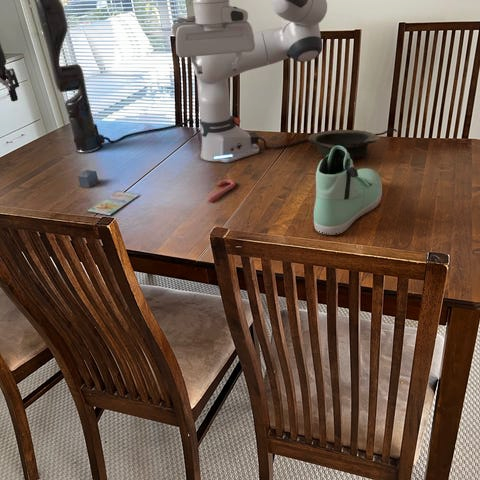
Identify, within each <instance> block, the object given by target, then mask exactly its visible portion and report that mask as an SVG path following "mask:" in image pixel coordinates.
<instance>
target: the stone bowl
mask: <svg viewBox="0 0 480 480" xmlns="http://www.w3.org/2000/svg"><path fill="white" fill-rule="evenodd" d="M375 134H376V133H372V132H369V131H367V130H359V129H335V130H331V129H330V130H324V131H319V132H314V133H312V134H310V135H308V138H307V139H308V141H307V142H310V143H313V144H314V145H315V144H316V150H317V152H318V153H319V155H320V156H321V157H323V158H325V157H326V156H327V155H329V154H330V152H331V149H332V148H333V147H334V146H342V147H344V148H345V149H346V150H347V152H348V153H349V156H350V159H352V161H353V162H354V160H355V159H365V158H366V156H367V153H368V147H369V144H370V145H371V144H373V143H375V142H377V141H378V140H380V136H379V135H375Z"/></svg>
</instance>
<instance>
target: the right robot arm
mask: <svg viewBox="0 0 480 480" xmlns="http://www.w3.org/2000/svg"><path fill="white" fill-rule="evenodd" d="M192 2H193V12H194V15H193V16H192V15H191V16H186V17H182V16H181V17H177V18H176V19H174V20H173V21H172V23H171V31H172V35H173V37H174V38H175V52H176V53H175V54H176V55H177V56H178V57H179V58H181V59H182V58H190V62H191V63H192V64H193V72H194V75H195V76H196V80H197V81H196V83H197V84H196V85H197V98H198V99H197V100H198V108H199V117H200V119H199V131H200V135H201V148H200V149H201V151H200V158H201V159H202V160H204V161H208V162H221V163H231V162H235V161H237V160H240V159H243V158H246V157H249V156H252V155H255V154H258V153H260V147H259V145H257V144H259V142H260V140H261V141H262V142H263V146H264V148H265V149H267V150H272V149H273V150H274V149H275V150H276V149H283V148H285V147H291V146H295V145H297V144H300V143H303V142H309V141H308V138H305V139H301V140H298V141H294V142H292V143H288V144H283V145H280V146H276V147H268V146H267V142H266V139H264V138H263V137H261V136H258V134H257V133H256V131H255V132H247V131H246V130H244V129H243V128H241V127H240V126H238V125H240V124H241V119H240V118H238V117H235V116H233V115H231V103H230V91H229V79H230V78H233V77H235V76H238V75H240V74H243V73H245V72H248V71H251V70H256V69H259V68H263V67H266V66H271V65H273V64H276V63H277V64H278V62H279V63H280V62H282V61H284V60H286V59H291V60H293V61H296V62H299V63H305V62H310V61H312V60H314V59H316V58H318V57H319V56H320V54H321V53H322V52H323V39H322V37H321V28H320V23H321V22H322V21H323V20H324V18H325V17H326V14H327V11H328V2H327V0H271V5H272V9H273V12H274V13H275V14H276V15H277V16H278V17H279V18H281V23H282V24H281V26H282V27H275V28H269V29H264V30H261V31H256V32H254V30H253V27H252V25H251V23H250V22H249V21H248V19H249V13H248V11H247V10H246V9H243V8H240V7H238V6H232V5H231V4H230V0H193V1H192ZM391 131H394V132H397V133H398V130H397V129H396V128H389V129H387V130H385V131H383V132H380V133H374V134H375V135H377V136H382V135H385V134H387V133H389V132H391Z"/></svg>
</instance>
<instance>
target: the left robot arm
mask: <svg viewBox="0 0 480 480" xmlns="http://www.w3.org/2000/svg"><path fill="white" fill-rule="evenodd" d="M33 1H34V5H35V7H36V13H37V17H38V20H39V24H40V27H41V31H42V34H43V37H44V41H45V44H46V48H47V52H48V58H49V62H50V67H51V71H52V76H53V80H54V84H55V87H56V89H57V91H58V92H59V93H66V92H67V93H68V92H73V91H77V92H76V93H75V95H73V96H72V97H70V98H68V99H67V100H65V102H64V106H65V110H66V114H67V115H66V116H67V118H68V122H69V126H70V130H71V133H72V137H73V143H74V145H75V148H76V149H75V150H76V152H77V153H80V154H87V153H92V152H96V151H97V150H99V149H100V148H102V144H105V143H106V142H105V140H106V141H108V143H110V144H115V143H118V142H120V141H122V140H124V139H126V138H129V137H132V136H136V135H137V136H138V135H141V134H146V133H151V132H159V131H165V130H169V129H175V128H178V127H182V126H184V125H186V124H187V123H188V122H191V123H194V122H195V121H194V120H193V119H192V118H188V119H186V120H184V121H183V122H181V123H177V124H174V125H167V126H165V127H158V128H151V129H145V130H140V131H136V132H131V133H127V134H125V135H122V136H120V137H119V138H118V139H116V140H111V138H109V137H108V136H104V134H100V133H99V129H98V125H97V123H95V121H94V116H93V113H92V108H91V104H90V99H89V96H88V95H89V94H88V92H87V86H86V80H85V75H84V71H83V68H82V67H81V65H80V64H78V63H75V64H68V65H67V64H66V65H61V64H60V60H61V52H62V47H63V45H64V41H65V39H66V36H67V33H68V27H69V26H68V25H69V24H68V21H67V17H66V13H65V7H64V6H63V3H62V2H61V0H33ZM6 64H7V58H6V56H5V52H4V49H3V46H2V42H1V41H0V84H1V85H2V86H5V87H6V89H7V91H8V92H7V93H8V95H9V98H10V101H11V102H17V101H18V100H19V97H18V93H17V91H16V89H17V88H20V83H19V80H18V78H17V75H16V72H15V70H14V68H13V67H11V68H7V67H6Z"/></svg>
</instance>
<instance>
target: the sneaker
mask: <svg viewBox="0 0 480 480" xmlns="http://www.w3.org/2000/svg"><path fill="white" fill-rule="evenodd" d="M317 165H318V166H317V168H316V172H315V201H314V207H313V225H314V229H315V231H316V232H318V233H320V234H323V235H326V236H327V235H328V236H336V235H339V234H342V233H344V232H345V231H347V230H348V229H349V228H350V227H351V226H352V225H353V224H354V222H356V221H357V220H358V219H359V218H360V217H362V216H363V215H365V214H367V213H370V212H372V210H374V209H375V208H377V207H378V205H380V203H381V200H382V196H383V184H382V183H383V182H382V179H381V176H380V175H379V173H378V172H377V171H376V170H374V169H372V168H367V167H365V168H358V169H357V168H355V167H354V161H352V159H350V156H349V153H348V152H347V150H346V149H345V148H344V147H342V146H334V147H333V148H332V149H331V152H330V154H329V155H327V156H326V157H323V158H322V159H321V160H320V161H319V163H318V164H317ZM343 230H344V231H343ZM319 231H320V232H319ZM322 232H323V233H322ZM339 232H340V233H339ZM326 233H327V234H326ZM328 233H329V234H328ZM335 233H337V234H335Z"/></svg>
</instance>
